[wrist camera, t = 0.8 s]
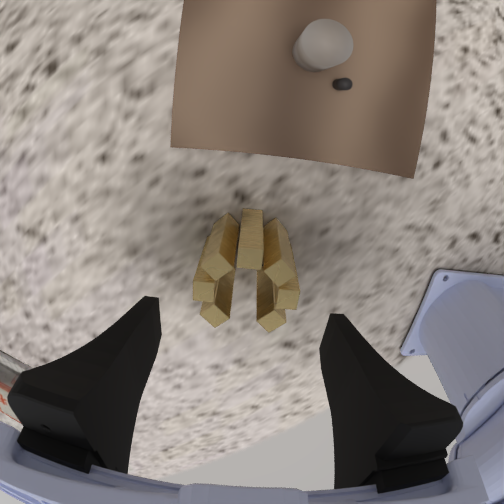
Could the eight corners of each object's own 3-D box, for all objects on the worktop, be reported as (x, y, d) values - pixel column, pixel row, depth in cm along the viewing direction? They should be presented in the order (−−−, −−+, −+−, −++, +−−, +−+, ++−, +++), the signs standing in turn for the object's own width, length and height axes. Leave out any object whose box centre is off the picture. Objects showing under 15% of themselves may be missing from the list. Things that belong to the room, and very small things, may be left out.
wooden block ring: (295, 213, 19) (307, 254, 14) (284, 282, 21) (290, 334, 16) (209, 205, 18) (193, 243, 14) (205, 274, 21) (193, 325, 16)
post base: (424, 2, 12) (470, -16, 8) (402, 172, 17) (444, 199, 13) (197, -38, 12) (177, -77, 7) (177, 143, 17) (149, 161, 12)
